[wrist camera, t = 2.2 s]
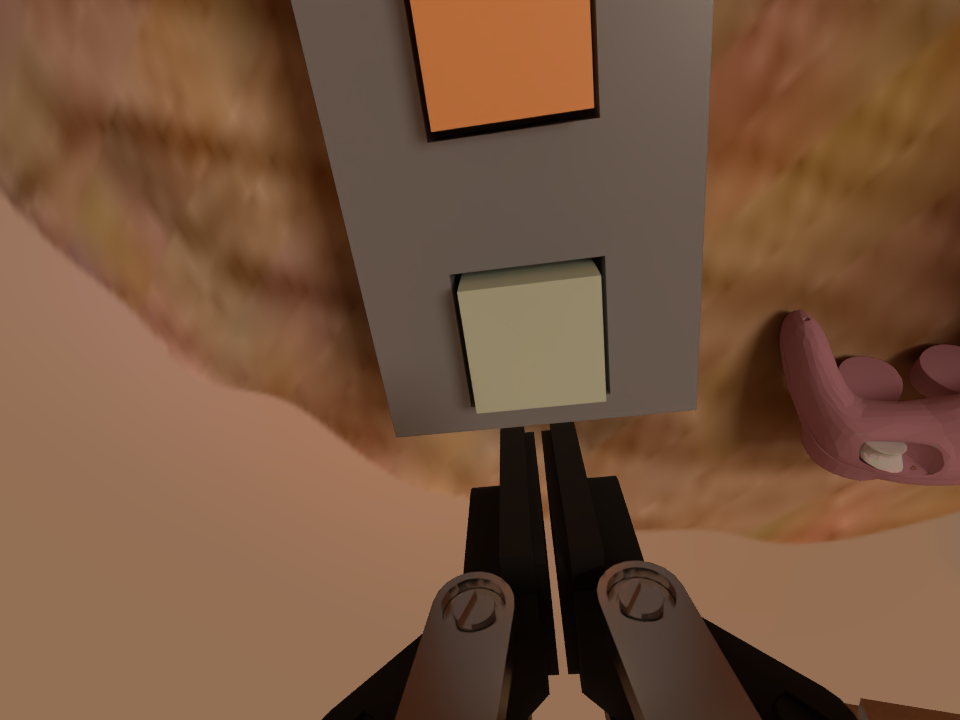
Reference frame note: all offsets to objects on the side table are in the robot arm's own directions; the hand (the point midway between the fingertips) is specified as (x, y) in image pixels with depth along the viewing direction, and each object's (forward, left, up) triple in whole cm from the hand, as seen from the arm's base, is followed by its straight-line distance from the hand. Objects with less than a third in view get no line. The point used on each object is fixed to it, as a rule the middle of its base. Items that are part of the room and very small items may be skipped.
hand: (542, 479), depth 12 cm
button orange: (-10, 0, -9) cm, 13 cm away
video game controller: (+4, +15, -12) cm, 19 cm away
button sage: (-1, 0, -9) cm, 9 cm away
